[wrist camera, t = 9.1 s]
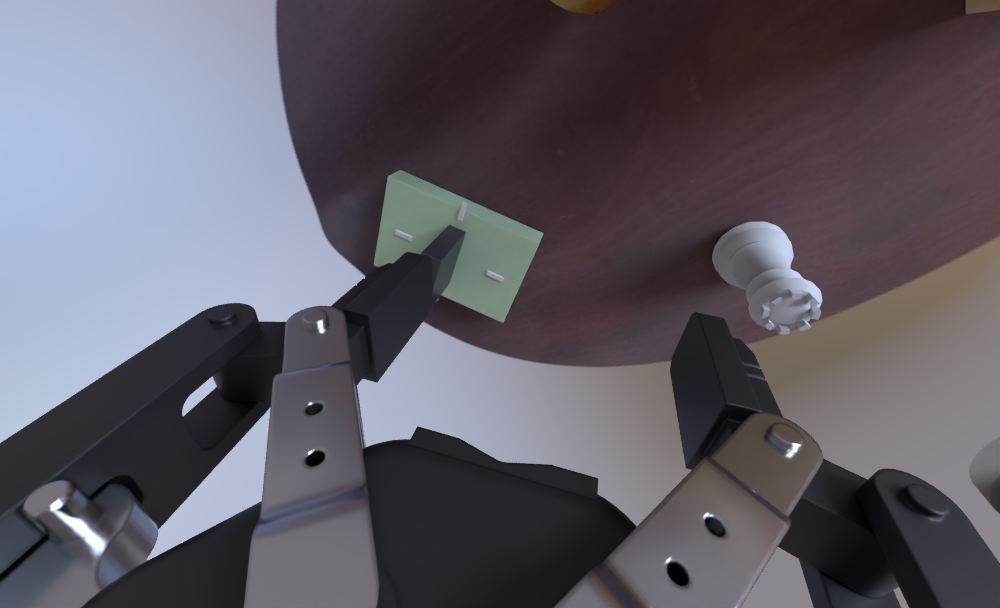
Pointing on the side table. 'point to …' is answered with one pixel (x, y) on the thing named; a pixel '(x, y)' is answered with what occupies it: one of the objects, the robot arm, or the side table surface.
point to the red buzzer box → (981, 6)
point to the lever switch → (485, 249)
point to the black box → (444, 258)
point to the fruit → (585, 5)
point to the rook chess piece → (767, 276)
